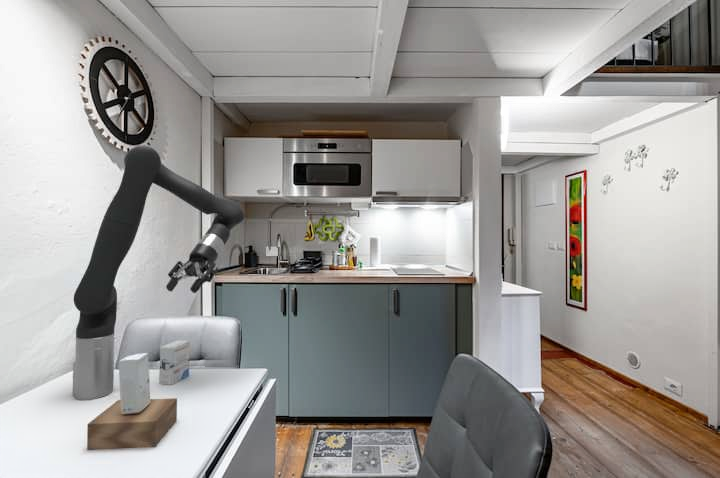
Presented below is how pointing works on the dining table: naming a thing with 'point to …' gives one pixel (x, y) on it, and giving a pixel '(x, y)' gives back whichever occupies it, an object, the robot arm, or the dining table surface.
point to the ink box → (174, 362)
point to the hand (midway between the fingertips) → (180, 290)
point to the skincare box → (134, 383)
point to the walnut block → (132, 426)
